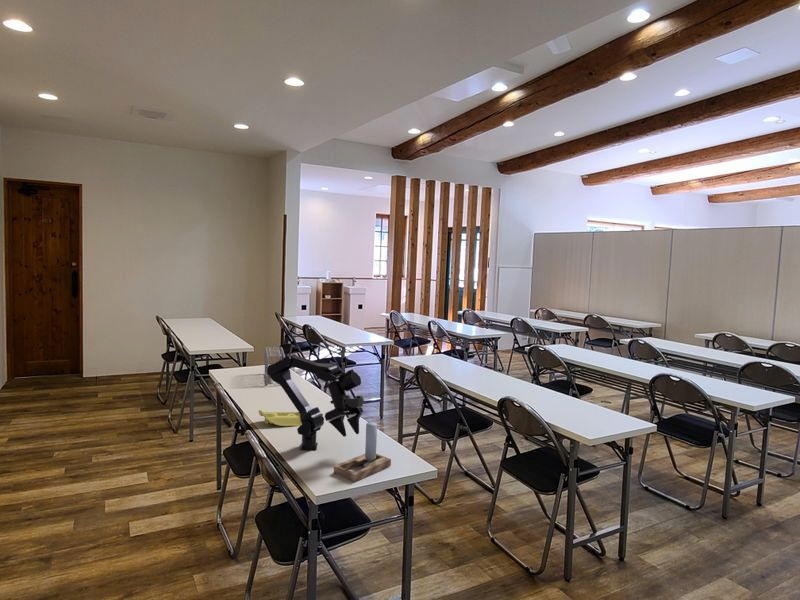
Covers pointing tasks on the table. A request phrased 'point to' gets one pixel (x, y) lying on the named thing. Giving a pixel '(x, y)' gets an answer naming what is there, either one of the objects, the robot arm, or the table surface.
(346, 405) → the robot arm
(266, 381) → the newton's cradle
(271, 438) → the table surface
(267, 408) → the table surface
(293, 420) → the banana
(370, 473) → the keyhole block
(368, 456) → the slate peg
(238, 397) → the table surface
